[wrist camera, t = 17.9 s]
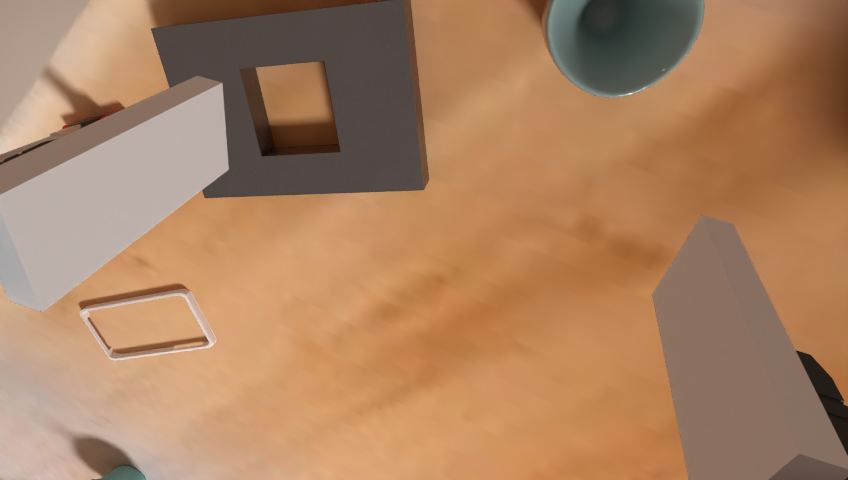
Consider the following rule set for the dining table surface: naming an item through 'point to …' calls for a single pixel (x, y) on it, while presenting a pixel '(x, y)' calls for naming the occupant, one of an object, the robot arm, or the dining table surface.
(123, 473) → the cupcake
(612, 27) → the cup
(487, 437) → the dining table surface
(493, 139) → the dining table surface
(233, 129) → the socket block
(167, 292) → the phone case
